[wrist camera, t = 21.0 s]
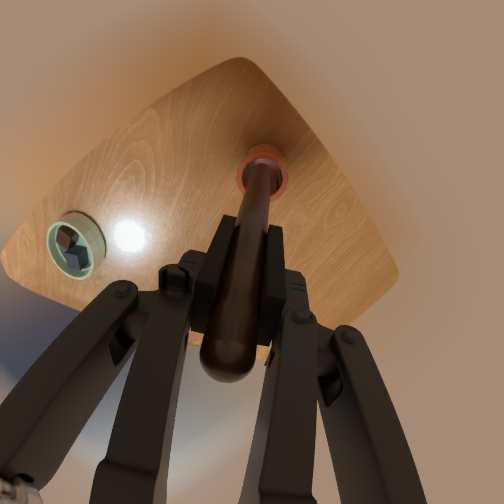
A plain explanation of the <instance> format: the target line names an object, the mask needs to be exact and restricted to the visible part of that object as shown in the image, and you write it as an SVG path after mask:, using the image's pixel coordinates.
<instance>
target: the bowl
mask: <svg viewBox="0 0 504 504" xmlns="http://www.w3.org/2000/svg"><path fill="white" fill-rule="evenodd" d="M62 225H65V226H69V227H70V228H72V229H74V230H75V231H76V232H77V233H78V234H79V238H78V242H77V243H76V244H75V245H80V246H84V247H87V253H88V259H89V262H88V263H87V264H86V265H85V266H84V268H83V269H82V270H81V271H79V270H75V269H71V268H68V267H67V262H66V258H65V252H66V251H67V250H65V249H64V248H63V247H62V246H60V245H59V244H58V243H57V242H56V236H57V232H58V228H59V227H60V226H62ZM46 242H47V248H48V251H49V254H50V256H51V258H52V260H53V262H54V263H55V265H56V266H57V267H58V268H59V269H60V270H61V271H62V272H63V273H64V274H66V275H67V276H69V277H70V278H73V279H76V280H83V279H86V278H88V277H89V276H90V275H91V274H92V273H93V272H94V271H95V269H96V268H97V267H98V266H99V265H100V264H101V262H102V261H103V259H104V255H105V244H104V240H103V237H102V234H101V233H100V231H99V229H98V228H97V226H96V225H95V224H94V223H93V222H92V221H91V219H90V218H88V217H86V216H85V215H83V214H81V213H76V212H72V213H68V214H66V215H65V216H63V217H62V218H61V219H59V220H58V221H56V222H55V223H54V224H52V225H51V226H50V227H49V230H48V232H47V239H46Z"/></svg>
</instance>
